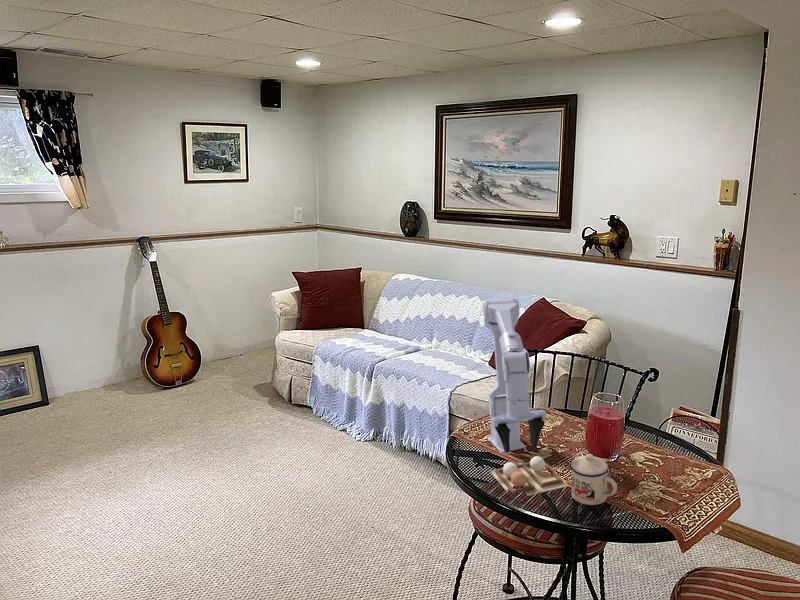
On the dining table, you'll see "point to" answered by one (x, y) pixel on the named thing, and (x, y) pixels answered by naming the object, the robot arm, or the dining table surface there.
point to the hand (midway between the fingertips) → (520, 449)
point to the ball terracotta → (518, 479)
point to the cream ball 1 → (509, 469)
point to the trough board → (531, 480)
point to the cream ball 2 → (537, 463)
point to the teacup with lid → (590, 480)
